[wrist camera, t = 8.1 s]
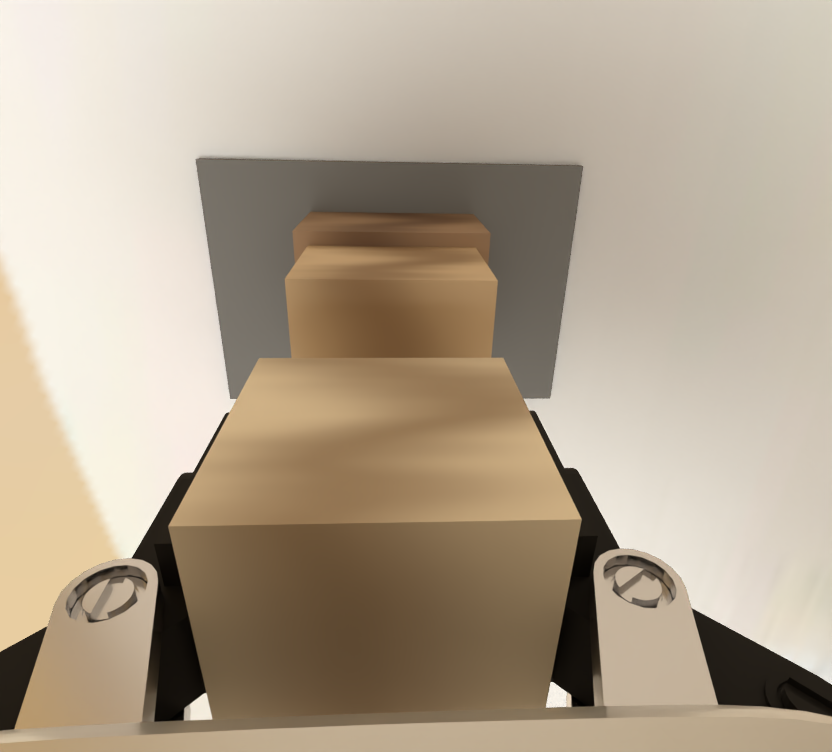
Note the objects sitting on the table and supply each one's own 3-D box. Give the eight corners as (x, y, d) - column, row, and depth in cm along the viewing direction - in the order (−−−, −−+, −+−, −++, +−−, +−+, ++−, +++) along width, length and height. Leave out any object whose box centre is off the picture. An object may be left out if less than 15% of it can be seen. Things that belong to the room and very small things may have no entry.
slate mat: (580, 165, 23) (583, 166, 23) (547, 394, 28) (549, 398, 27) (198, 158, 22) (195, 159, 22) (232, 395, 27) (230, 398, 27)
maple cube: (503, 357, 11) (581, 520, 7) (485, 542, 13) (535, 760, 9) (259, 358, 11) (167, 526, 6) (280, 547, 13) (224, 772, 9)
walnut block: (473, 213, 23) (490, 233, 19) (464, 362, 26) (477, 406, 22) (310, 211, 23) (292, 230, 19) (319, 362, 26) (306, 406, 22)
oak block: (475, 247, 19) (497, 280, 15) (465, 395, 22) (482, 457, 18) (307, 245, 19) (284, 278, 15) (317, 395, 22) (300, 458, 18)
